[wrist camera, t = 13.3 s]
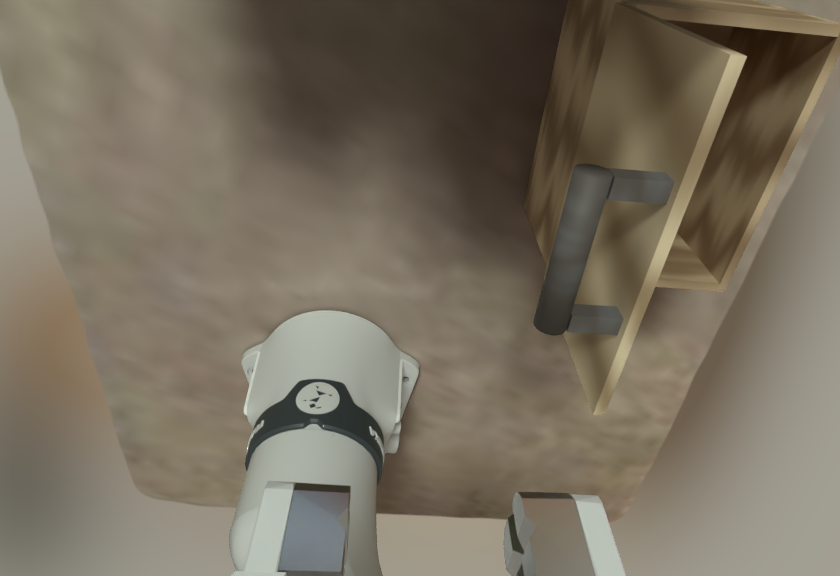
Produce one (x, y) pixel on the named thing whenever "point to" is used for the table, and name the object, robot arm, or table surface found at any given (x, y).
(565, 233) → the carton lid
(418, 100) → the table surface
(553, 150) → the carton
